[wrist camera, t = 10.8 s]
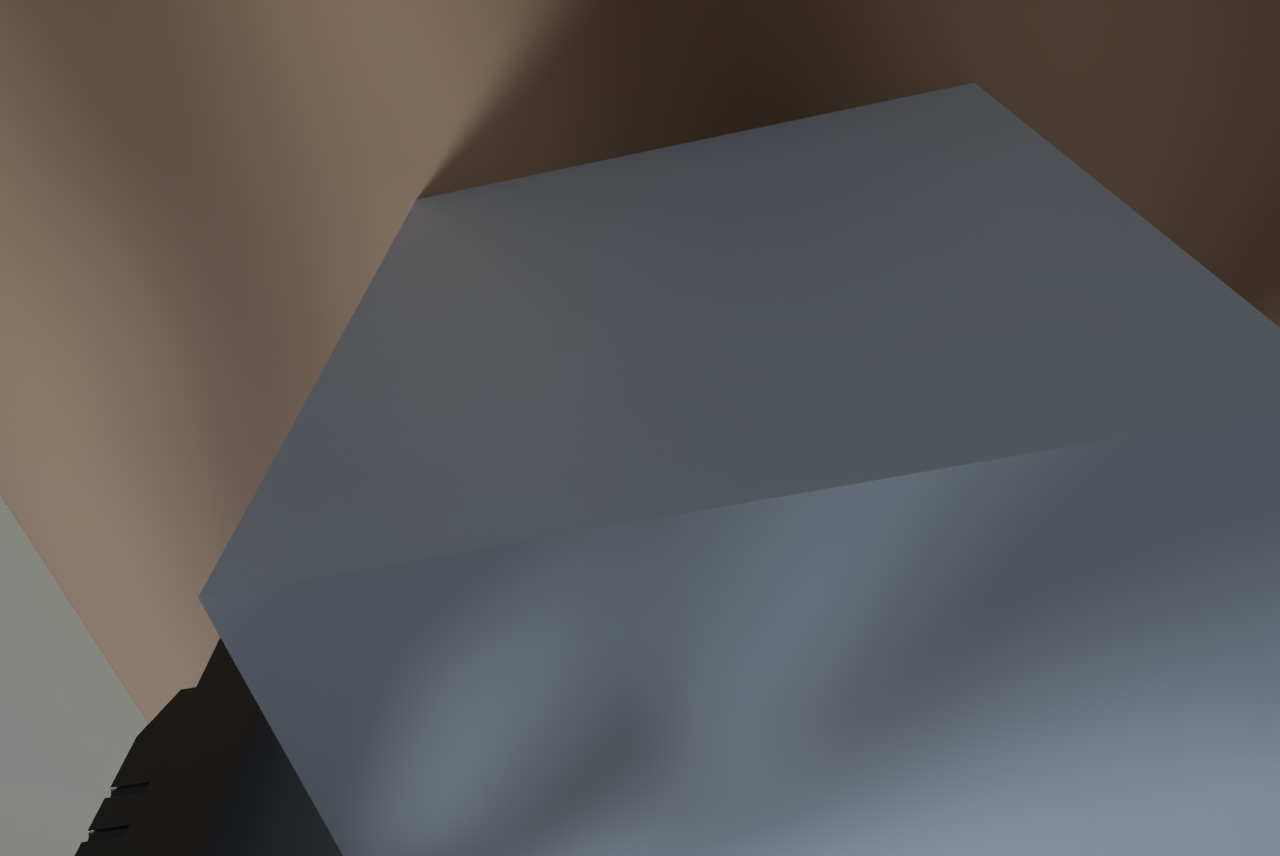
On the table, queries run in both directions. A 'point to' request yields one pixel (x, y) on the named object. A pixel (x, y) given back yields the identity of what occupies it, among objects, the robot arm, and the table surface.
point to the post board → (447, 162)
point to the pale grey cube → (781, 515)
